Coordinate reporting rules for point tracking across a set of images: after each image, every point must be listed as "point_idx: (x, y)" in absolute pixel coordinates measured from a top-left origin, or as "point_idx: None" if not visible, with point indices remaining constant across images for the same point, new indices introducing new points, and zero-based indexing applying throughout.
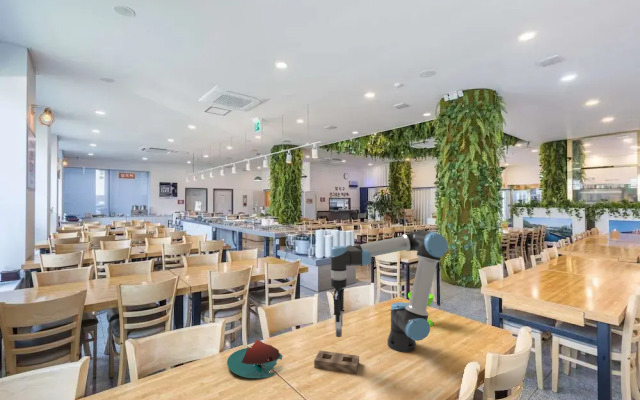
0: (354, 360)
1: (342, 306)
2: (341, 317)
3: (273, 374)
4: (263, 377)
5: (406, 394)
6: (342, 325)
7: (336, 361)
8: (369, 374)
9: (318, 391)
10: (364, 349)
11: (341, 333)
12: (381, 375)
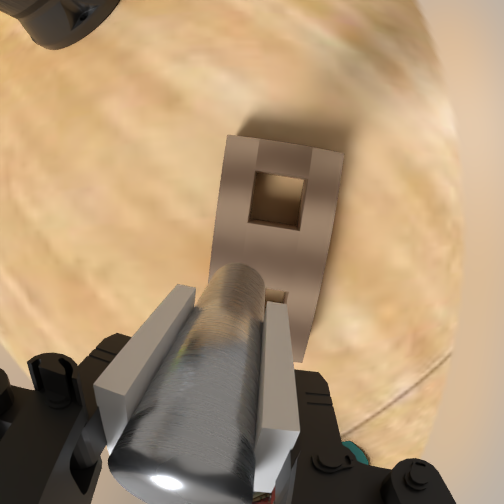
0: (284, 160)
1: (10, 456)
2: (223, 369)
3: (346, 443)
4: (363, 455)
5: (421, 13)
6: (187, 286)
7: (307, 259)
8: (329, 98)
9: (447, 305)
10: (102, 126)
11: (247, 274)
12: (327, 53)
